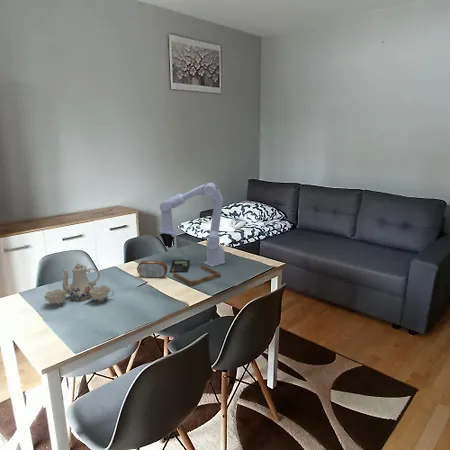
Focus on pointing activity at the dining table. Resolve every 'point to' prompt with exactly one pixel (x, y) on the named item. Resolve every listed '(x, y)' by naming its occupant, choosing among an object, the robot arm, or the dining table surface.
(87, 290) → the chinaware
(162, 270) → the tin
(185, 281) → the brown angled flat piece
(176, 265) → the calculator
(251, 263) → the dining table surface
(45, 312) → the dining table surface
